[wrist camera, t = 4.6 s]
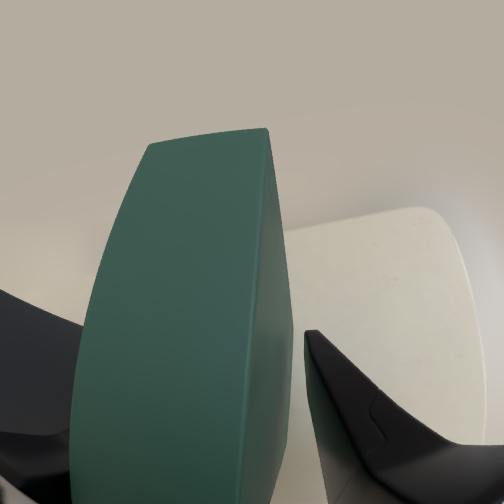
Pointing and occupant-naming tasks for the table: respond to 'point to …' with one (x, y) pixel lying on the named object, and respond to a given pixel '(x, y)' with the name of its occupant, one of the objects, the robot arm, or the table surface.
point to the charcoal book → (35, 368)
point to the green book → (187, 333)
